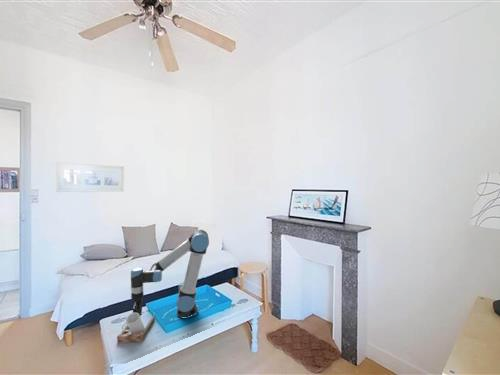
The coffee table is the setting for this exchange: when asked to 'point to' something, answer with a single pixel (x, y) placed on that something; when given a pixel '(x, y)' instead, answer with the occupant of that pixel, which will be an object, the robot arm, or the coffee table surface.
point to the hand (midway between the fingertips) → (138, 325)
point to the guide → (134, 337)
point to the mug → (134, 323)
